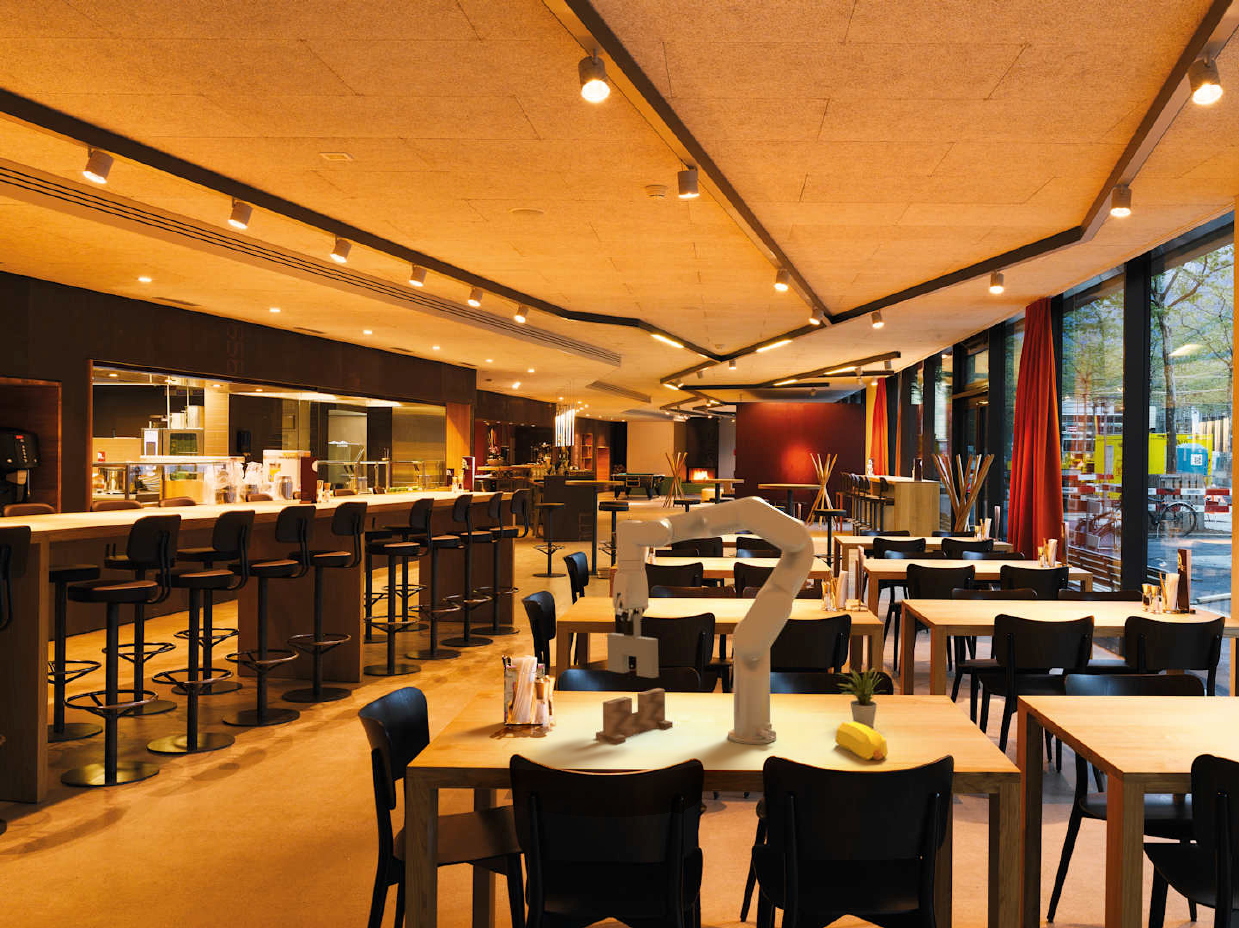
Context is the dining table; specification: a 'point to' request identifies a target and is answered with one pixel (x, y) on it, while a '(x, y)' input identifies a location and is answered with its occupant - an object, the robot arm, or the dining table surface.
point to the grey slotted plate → (633, 651)
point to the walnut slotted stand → (633, 716)
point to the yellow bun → (861, 741)
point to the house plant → (863, 698)
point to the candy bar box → (511, 683)
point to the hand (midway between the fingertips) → (632, 633)
